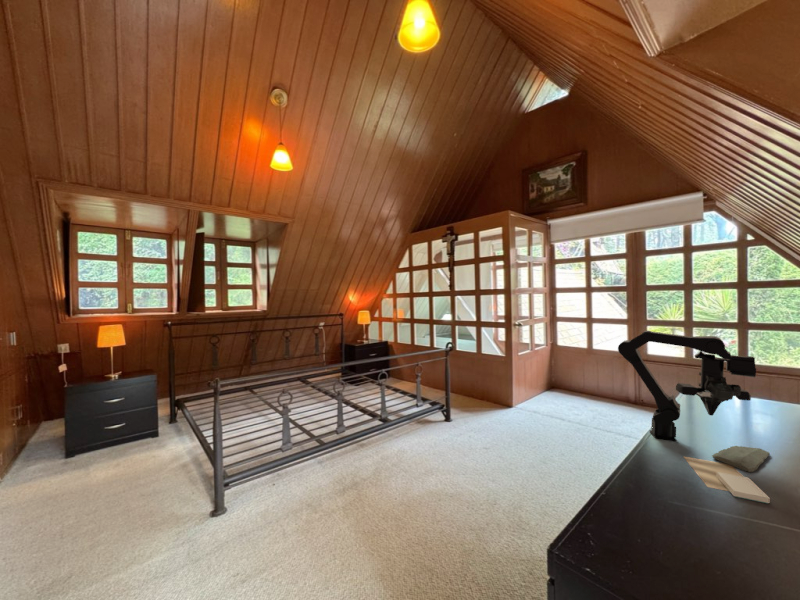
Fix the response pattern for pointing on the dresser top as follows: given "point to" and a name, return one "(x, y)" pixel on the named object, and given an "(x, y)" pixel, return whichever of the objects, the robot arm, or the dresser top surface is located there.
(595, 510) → the dresser top surface
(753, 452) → the stone slab
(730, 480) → the glazed tile
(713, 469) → the tan wooden board
